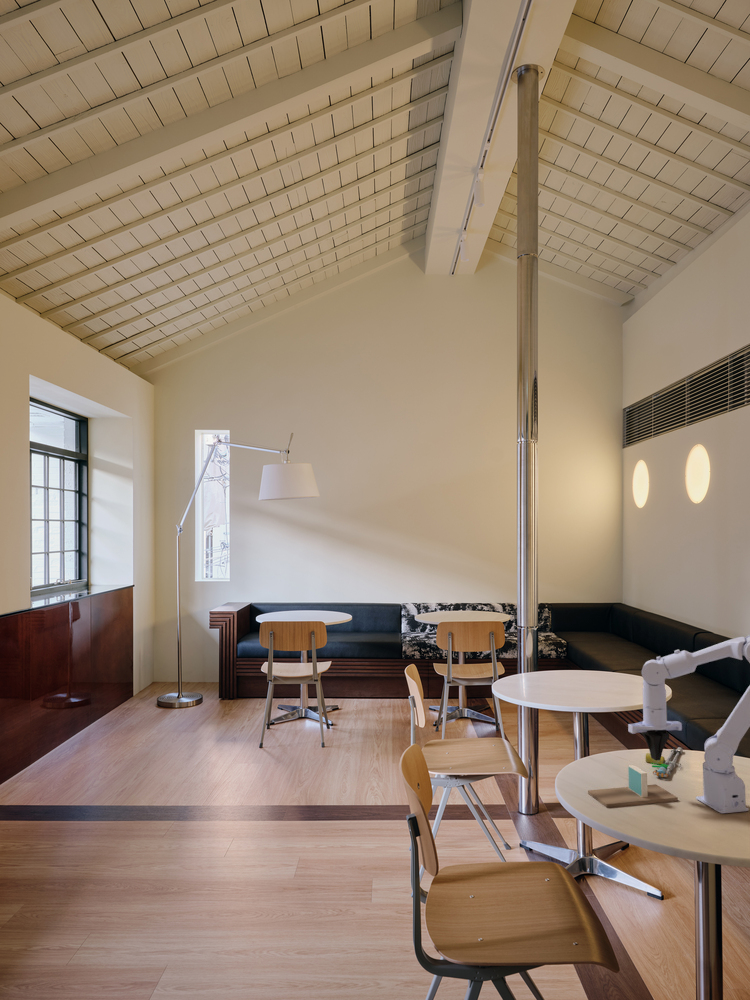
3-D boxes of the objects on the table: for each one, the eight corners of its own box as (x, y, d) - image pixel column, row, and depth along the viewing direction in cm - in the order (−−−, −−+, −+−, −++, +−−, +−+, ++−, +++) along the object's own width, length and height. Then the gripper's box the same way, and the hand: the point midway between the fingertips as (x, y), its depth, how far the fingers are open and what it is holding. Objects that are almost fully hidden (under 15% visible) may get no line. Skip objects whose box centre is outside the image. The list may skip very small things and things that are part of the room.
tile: (647, 796, 169) (647, 772, 169) (641, 797, 168) (641, 773, 168) (634, 787, 174) (633, 764, 175) (628, 788, 174) (627, 765, 174)
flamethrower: (636, 775, 186) (675, 784, 180) (637, 765, 186) (675, 774, 180) (654, 748, 210) (688, 755, 205) (654, 740, 210) (689, 747, 205)
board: (677, 800, 168) (677, 797, 168) (606, 807, 164) (606, 804, 164) (656, 787, 177) (656, 784, 177) (588, 793, 173) (588, 790, 173)
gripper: (669, 701, 179) (670, 752, 178) (621, 704, 176) (622, 755, 175) (686, 708, 172) (687, 761, 171) (636, 711, 169) (637, 765, 168)
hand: (655, 759), depth 173 cm, fingers closed
